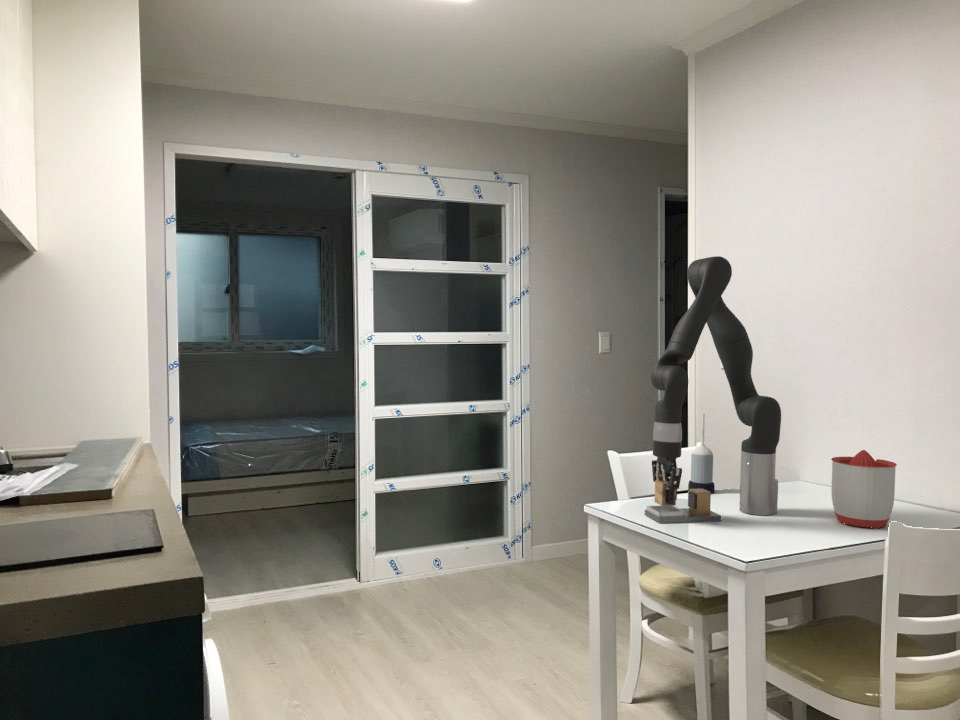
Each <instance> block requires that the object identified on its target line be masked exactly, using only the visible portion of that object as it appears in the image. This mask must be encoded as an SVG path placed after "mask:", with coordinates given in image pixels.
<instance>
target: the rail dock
mask: <svg viewBox="0 0 960 720" xmlns="http://www.w3.org/2000/svg"><path fill="white" fill-rule="evenodd" d="M711 496H712V494H711V492H710V491H707V490H705V489H689V491H688V494H687V506H688V508H685V507H684V508H679V507H677V506H661V505H646V509H644V516H645V515H646V516H645V517H646V518H649V519H651V520H652V521H654V522H655V523H658V524H677V523H678V524H679V523H702V522H703V523H705V522H706V523H707V522H722V515H720V514H719V513H716V512H714V511H712V510H711V500H712V499H711Z"/></svg>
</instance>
